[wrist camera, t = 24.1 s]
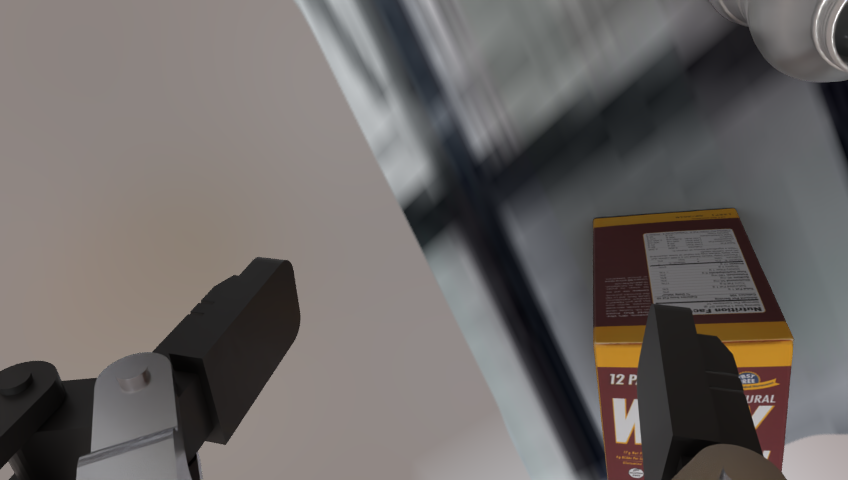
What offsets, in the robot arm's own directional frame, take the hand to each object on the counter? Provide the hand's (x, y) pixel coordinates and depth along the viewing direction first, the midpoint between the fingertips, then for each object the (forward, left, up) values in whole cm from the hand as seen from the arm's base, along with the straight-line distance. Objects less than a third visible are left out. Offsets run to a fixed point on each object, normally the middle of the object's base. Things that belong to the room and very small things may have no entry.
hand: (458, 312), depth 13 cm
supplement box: (-11, +21, -33) cm, 41 cm away
